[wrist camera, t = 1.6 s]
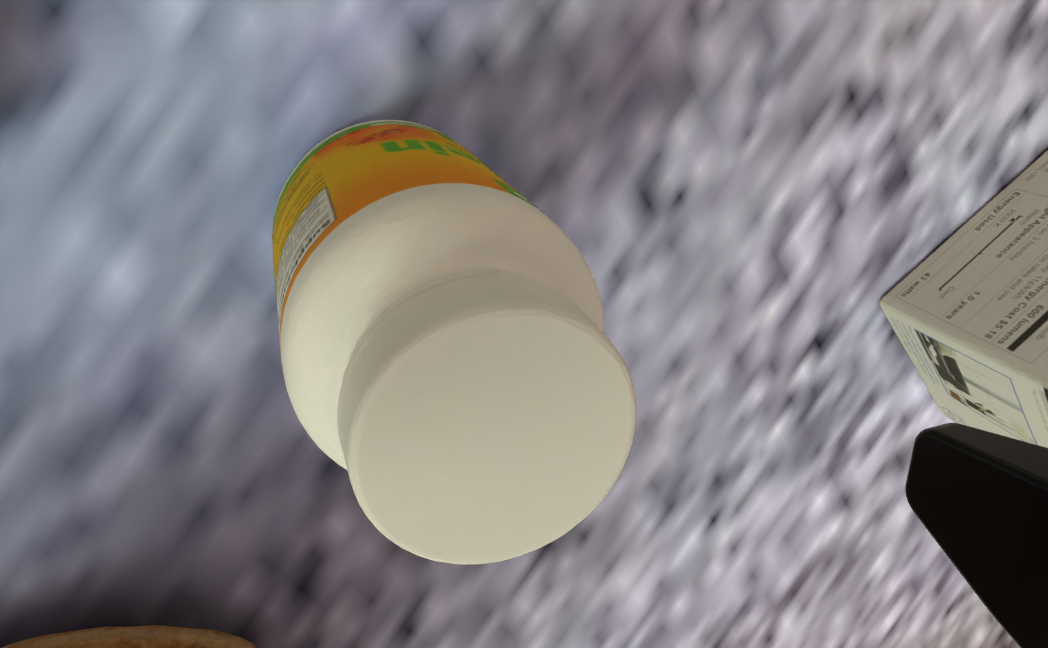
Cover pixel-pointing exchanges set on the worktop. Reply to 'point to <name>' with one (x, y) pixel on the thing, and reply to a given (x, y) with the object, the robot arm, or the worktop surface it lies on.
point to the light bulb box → (985, 314)
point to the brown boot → (136, 638)
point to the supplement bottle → (445, 345)
